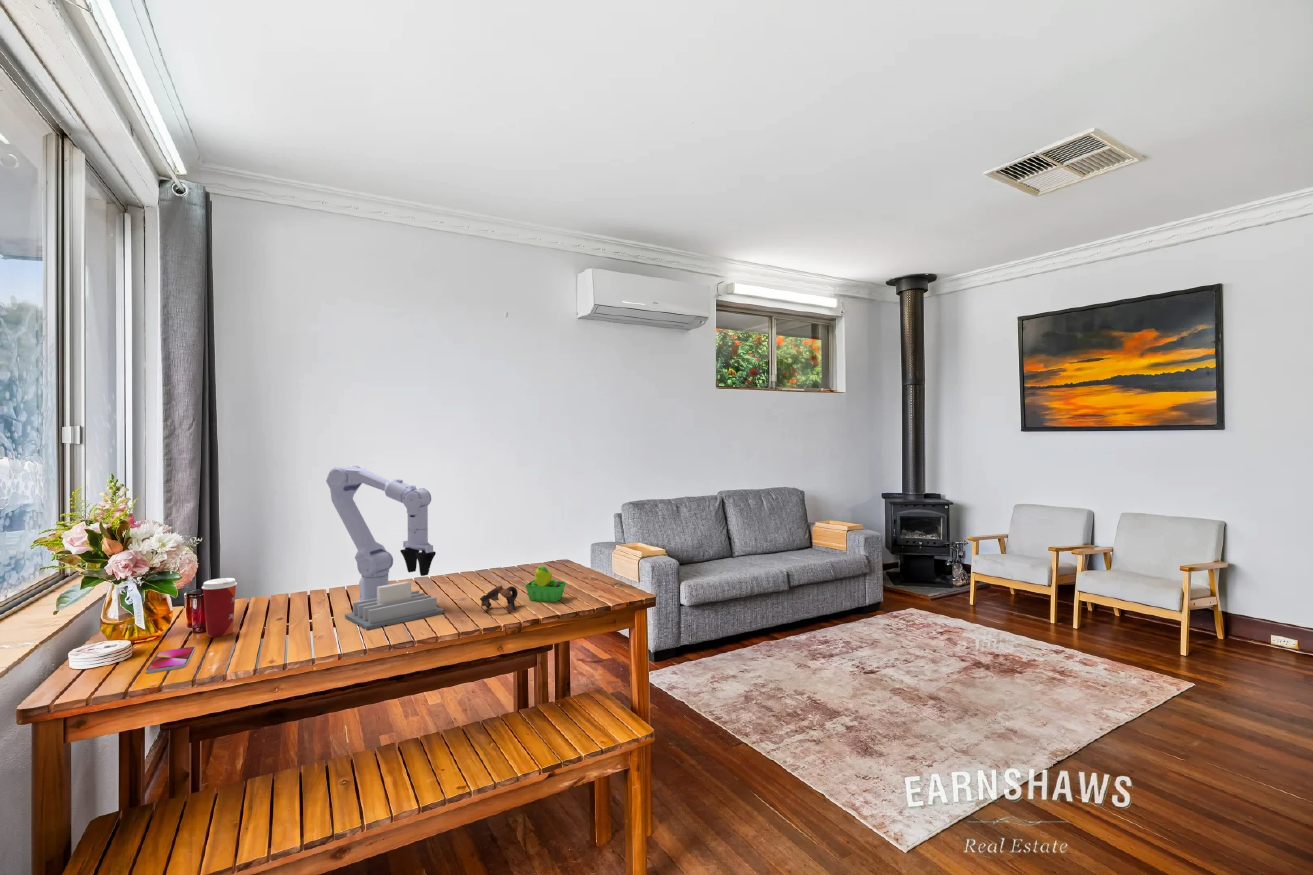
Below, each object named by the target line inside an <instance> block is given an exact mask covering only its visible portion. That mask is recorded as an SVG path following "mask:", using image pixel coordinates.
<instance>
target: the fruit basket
mask: <svg viewBox="0 0 1313 875" xmlns="http://www.w3.org/2000/svg"><path fill="white" fill-rule="evenodd" d="M534 574H535V575H534V579H533V580H531V581H530V582H527V583H525V585H524V587H525V589H526V591H527V596H528V600H529V601H534V602H535V601H537V602H547V603H548V602H550V603H557V602H558V601H559V600H561V599H562V598H563V595H564V591H565V587H566V585H567V582H566V581H560V580H559V581H558V580H556V579H552V577H553V574H552V572H551V571H550V570H548V568H547V567H546V566H545V565H540V566H538V567H537V568H536V570H535V571H534Z"/></svg>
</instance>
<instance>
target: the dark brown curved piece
mask: <svg viewBox="0 0 1313 875" xmlns="http://www.w3.org/2000/svg"><path fill="white" fill-rule="evenodd" d="M499 594H500V595H501V596H502V597H503V598H505V600H506V602H507V605H506V606H505V610H506V612H507V614H510V613H513V612H514V611H515V610H516V609H517V607H516V604H515V601H516V599H517V598H518V589H517V588H516V587H515V586H512V585H510V586H508V587H507V588H504V587H503V585H502V584H501V585H498V586H496V587H494V588H493V589H491V590H490V591H488V592H487V593H486V595H485V594H484V595H482V596H481V597H480V599H479V600H480V601H481V605H480V606H481V607H485V608H486V609H489V608H491V607H492V603H491V602H490V600H491V601H497V602H498V601H500V599H499ZM509 612H510V613H509Z"/></svg>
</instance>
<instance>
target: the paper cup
mask: <svg viewBox="0 0 1313 875" xmlns="http://www.w3.org/2000/svg"><path fill="white" fill-rule="evenodd" d="M237 585H238V583H237V582H236V578H233V577H222V578H215V579H214V578H213V579H209V580H205V581H204V582H203V584H202V586H201V589H202V592H203V605H204V619H205V631H206V636H207V637H208V638H219V637H224V636H228V635H231V634H233V631H234V621H235V605H236V588H237Z"/></svg>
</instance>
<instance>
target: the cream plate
mask: <svg viewBox="0 0 1313 875" xmlns="http://www.w3.org/2000/svg"><path fill="white" fill-rule="evenodd" d="M411 592H412V582H411V581H409V580H408V581H402V582H396V583H392V584H391V583H390V584H388V585H384V586H378V587H377V605H379V604H384V603H389V602H395V601H400V600H405V599H410V598H411Z"/></svg>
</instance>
